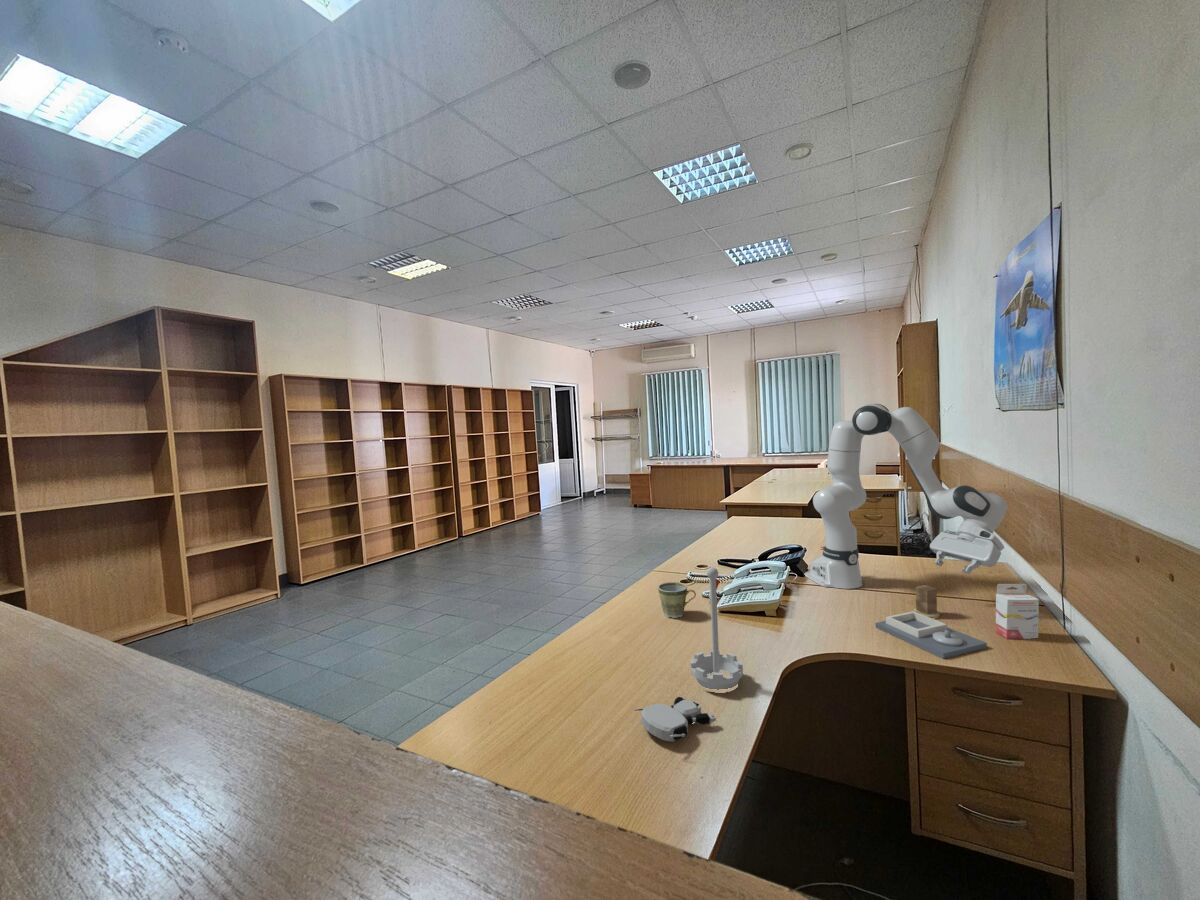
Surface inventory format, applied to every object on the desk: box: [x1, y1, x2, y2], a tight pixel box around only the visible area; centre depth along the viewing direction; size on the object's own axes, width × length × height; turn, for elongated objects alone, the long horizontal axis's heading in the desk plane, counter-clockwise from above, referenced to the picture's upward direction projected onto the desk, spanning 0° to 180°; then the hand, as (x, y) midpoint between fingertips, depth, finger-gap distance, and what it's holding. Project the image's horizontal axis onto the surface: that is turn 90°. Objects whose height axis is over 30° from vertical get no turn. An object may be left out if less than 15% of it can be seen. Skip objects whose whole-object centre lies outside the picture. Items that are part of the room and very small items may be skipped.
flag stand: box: [690, 566, 744, 690], centre depth 126 cm, size 13×13×30 cm
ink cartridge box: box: [995, 583, 1040, 640], centre depth 143 cm, size 9×5×15 cm, turn 84°
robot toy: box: [633, 695, 717, 743], centre depth 109 cm, size 12×4×15 cm
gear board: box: [875, 610, 988, 660], centre depth 145 cm, size 22×16×4 cm
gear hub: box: [913, 584, 941, 619], centre depth 160 cm, size 7×7×9 cm
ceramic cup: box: [657, 581, 697, 619], centre depth 171 cm, size 13×10×10 cm
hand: (951, 568), depth 163 cm, fingers open, 8 cm apart
